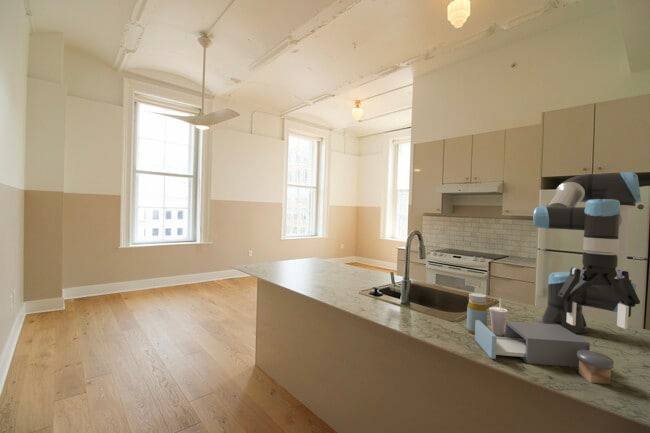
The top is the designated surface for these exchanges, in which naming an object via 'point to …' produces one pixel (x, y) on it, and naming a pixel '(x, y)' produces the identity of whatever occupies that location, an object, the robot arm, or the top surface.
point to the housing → (547, 343)
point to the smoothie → (498, 319)
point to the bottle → (476, 311)
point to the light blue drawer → (498, 343)
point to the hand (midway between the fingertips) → (596, 325)
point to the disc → (595, 359)
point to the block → (594, 373)
